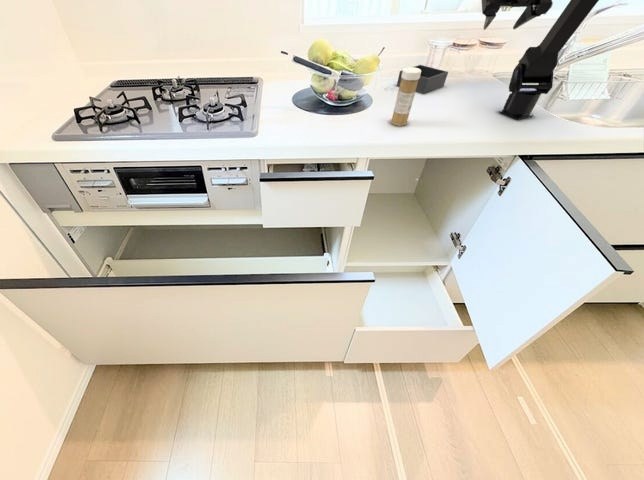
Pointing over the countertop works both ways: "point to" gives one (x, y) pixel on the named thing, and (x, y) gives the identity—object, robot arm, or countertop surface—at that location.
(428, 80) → the dark grey square tray
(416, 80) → the sprinkles bottle
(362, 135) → the countertop surface
